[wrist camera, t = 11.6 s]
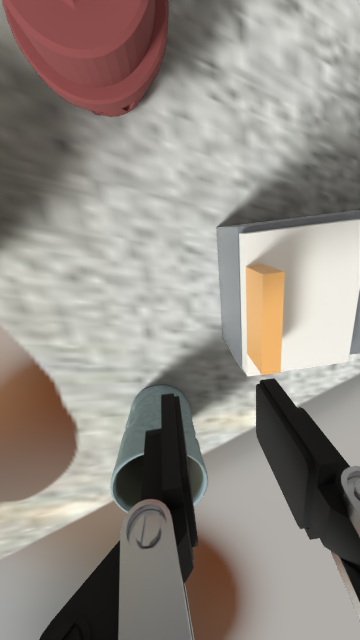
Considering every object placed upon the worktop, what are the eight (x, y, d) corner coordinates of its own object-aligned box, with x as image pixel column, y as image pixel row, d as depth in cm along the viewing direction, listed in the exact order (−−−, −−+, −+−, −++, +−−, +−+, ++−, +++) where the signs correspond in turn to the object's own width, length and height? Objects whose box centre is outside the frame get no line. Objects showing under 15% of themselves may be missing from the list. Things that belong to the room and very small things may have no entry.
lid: (356, 219, 20) (414, 216, 16) (337, 354, 25) (378, 383, 20) (239, 233, 20) (263, 235, 15) (242, 368, 25) (261, 400, 20)
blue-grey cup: (150, 443, 38) (146, 532, 27) (110, 400, 35) (87, 482, 24) (205, 413, 37) (225, 493, 26) (170, 366, 34) (175, 435, 23)
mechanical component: (44, -4, 20) (165, 6, 21) (63, 140, 24) (165, 144, 25) (-107, -308, 9) (172, -260, 10) (-27, 58, 12) (171, 71, 13)
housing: (401, 204, 28) (488, 196, 21) (380, 315, 34) (443, 341, 26) (216, 227, 28) (237, 227, 20) (222, 337, 33) (241, 370, 25)
